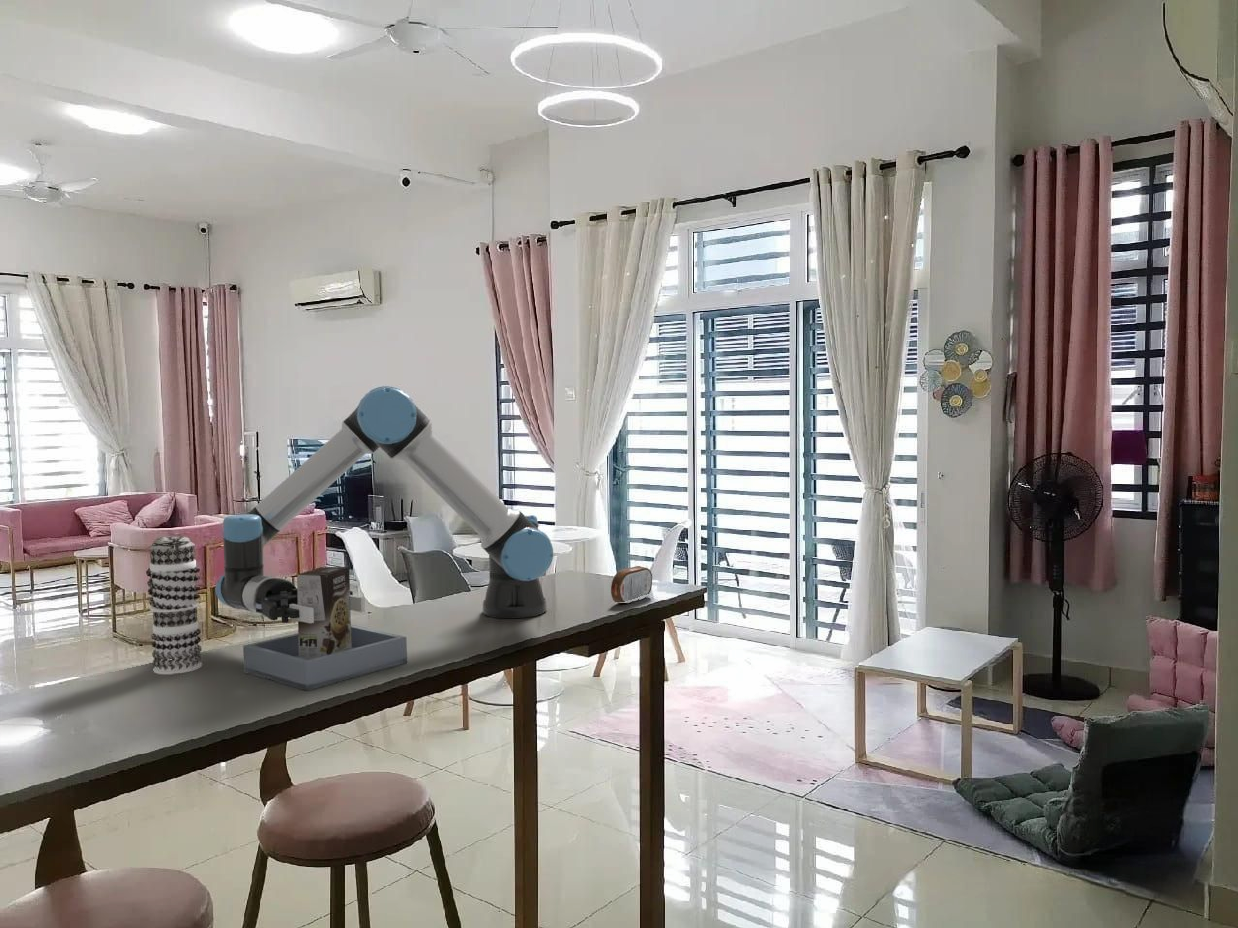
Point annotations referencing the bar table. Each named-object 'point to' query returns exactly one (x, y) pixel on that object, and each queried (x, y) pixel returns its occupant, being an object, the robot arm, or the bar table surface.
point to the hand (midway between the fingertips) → (338, 610)
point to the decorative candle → (174, 605)
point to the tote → (324, 659)
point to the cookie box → (325, 611)
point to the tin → (631, 583)
